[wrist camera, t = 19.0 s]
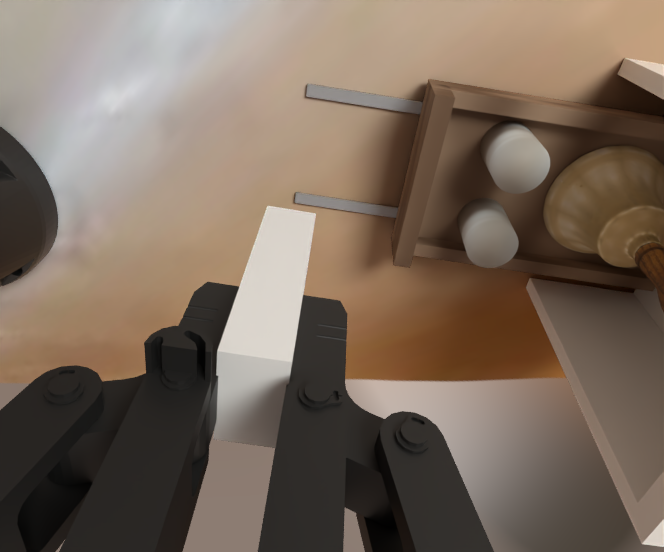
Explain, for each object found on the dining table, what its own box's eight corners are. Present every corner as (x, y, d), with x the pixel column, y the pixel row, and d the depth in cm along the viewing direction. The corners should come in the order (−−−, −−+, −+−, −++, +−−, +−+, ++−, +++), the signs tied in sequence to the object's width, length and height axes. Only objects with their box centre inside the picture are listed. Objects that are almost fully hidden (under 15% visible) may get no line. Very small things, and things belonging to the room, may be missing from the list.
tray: (391, 237, 40) (394, 272, 36) (428, 78, 33) (437, 99, 29) (639, 275, 40) (671, 314, 36) (725, 126, 34) (775, 152, 30)
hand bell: (625, 262, 39) (759, 432, 26) (523, 236, 38) (606, 397, 25) (693, 162, 34) (900, 304, 21) (579, 130, 34) (718, 256, 20)
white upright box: (289, 252, 42) (231, 488, 24) (316, 7, 32) (250, 97, 14) (637, 304, 43) (832, 569, 25) (769, 81, 33) (1255, 256, 15)
